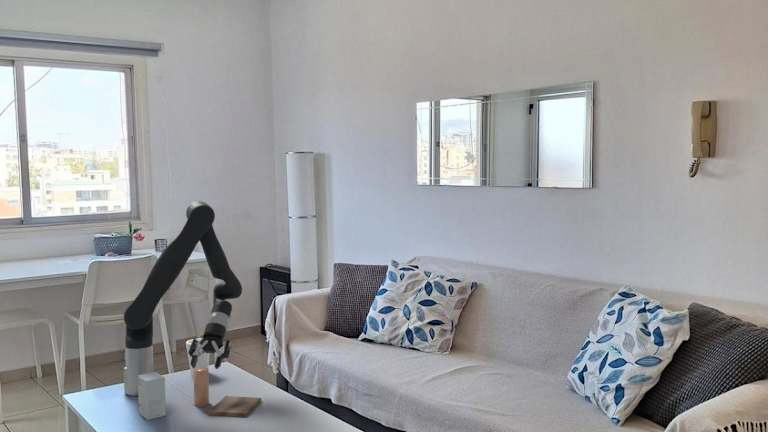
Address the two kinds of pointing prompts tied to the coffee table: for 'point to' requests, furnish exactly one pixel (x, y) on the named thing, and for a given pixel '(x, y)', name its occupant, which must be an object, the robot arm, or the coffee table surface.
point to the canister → (201, 386)
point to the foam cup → (202, 360)
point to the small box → (151, 395)
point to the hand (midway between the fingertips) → (204, 367)
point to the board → (235, 406)
